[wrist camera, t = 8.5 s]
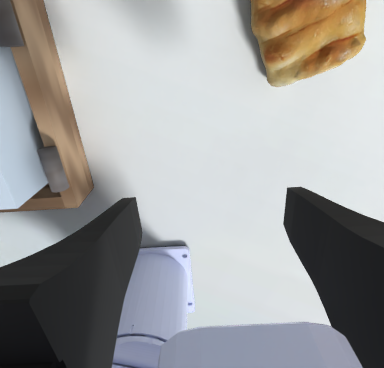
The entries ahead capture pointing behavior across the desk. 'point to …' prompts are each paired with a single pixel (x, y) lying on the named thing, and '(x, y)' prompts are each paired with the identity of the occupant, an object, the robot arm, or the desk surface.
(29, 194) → the door
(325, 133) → the desk surface
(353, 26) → the pastry
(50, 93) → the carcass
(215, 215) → the desk surface
